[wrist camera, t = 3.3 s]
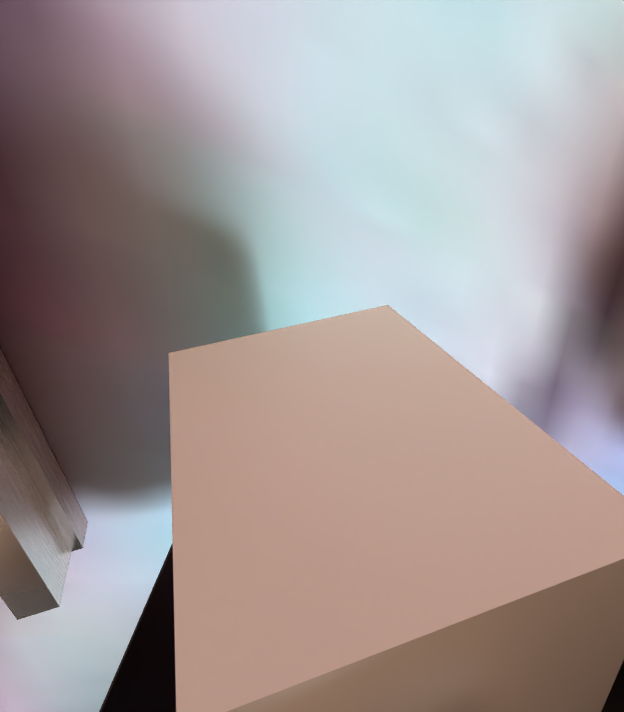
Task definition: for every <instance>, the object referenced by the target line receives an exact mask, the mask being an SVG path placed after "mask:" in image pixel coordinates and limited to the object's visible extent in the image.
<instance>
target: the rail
mask: <svg viewBox="0 0 624 712" xmlns="http://www.w3.org/2000/svg"><path fill="white" fill-rule="evenodd" d="M87 523H88V522H87V520H86V518H85V516H84V514H83V512H82V510H81V508H80V506H79V504H78V502H77V500H76V498H75V496H74V494H73V492H72V490H71V488H70V486H69V484H68V482H67V480H66V478H65V476H64V474H63V472H62V470H61V468H60V466H59V464H58V462H57V460H56V458H55V456H54V454H53V452H52V450H51V448H50V446H49V444H48V442H47V440H46V438H45V436H44V434H43V432H42V430H41V428H40V426H39V424H38V422H37V420H36V418H35V416H34V414H33V412H32V410H31V408H30V406H29V404H28V402H27V400H26V398H25V396H24V394H23V392H22V390H21V388H20V386H19V384H18V382H17V380H16V378H15V376H14V374H13V372H12V370H11V369H10V367H9V365H8V363H7V361H6V359H5V357H4V355H3V353H2V351H1V349H0V596H1V598H2V599H3V600H4V602H5V603H6V605H7V606H8V607H9V609H10V610H11V611H12V613H13V614H14V616H15V617H16V618H17V620H18V619H21V618H25V617H28V616H31V615H34V614H37V613H41V612H44V611H47V610H50V609H53V608H56V607H60V602H61V597H62V593H63V588H64V583H65V579H66V574H67V570H68V565H69V560H70V556H71V551H74V550H78V549H81V548H83V544H84V539H85V534H86V529H87Z"/></svg>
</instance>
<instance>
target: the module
mask: <svg viewBox="0 0 624 712" xmlns="http://www.w3.org/2000/svg"><path fill="white" fill-rule="evenodd" d="M169 391H170V439H171V486H172V534H173V582H174V629H175V677H176V712H601V711H602V709H603V706H604V704H605V702H606V699H607V697H608V695H609V692H610V690H611V688H612V685H613V683H614V681H615V679H616V676H617V674H618V672H619V669H620V667H621V665H622V662H623V660H624V496H623V495H622V494H621V493H620V492H618V491H617V490H616V489H615V488H613V487H612V486H611V485H610V484H608V483H607V482H606V481H605V480H603V479H602V478H601V477H600V476H599V475H597V474H596V473H595V472H594V471H592V470H591V469H590V468H589V467H587V466H586V465H585V464H584V463H582V462H581V461H580V460H579V459H578V458H576V457H575V456H574V455H573V454H571V453H570V452H569V451H568V450H566V449H565V448H564V447H563V446H561V445H560V444H559V443H558V442H557V441H555V440H554V439H553V438H552V437H550V436H549V435H548V434H547V433H545V432H544V431H543V430H542V429H540V428H539V427H538V426H537V425H535V424H534V423H533V422H532V421H531V420H529V419H528V418H527V417H526V416H524V415H523V414H522V413H521V412H519V411H518V410H517V409H516V408H514V407H513V406H512V405H511V404H510V403H508V402H507V401H506V400H505V399H503V398H502V397H501V396H500V395H498V394H497V393H496V392H495V391H493V390H492V389H491V388H490V387H489V386H487V385H486V384H485V383H484V382H482V381H481V380H480V379H479V378H477V377H476V376H475V375H474V374H472V373H471V372H470V371H469V370H468V369H466V368H465V367H464V366H463V365H461V364H460V363H459V362H458V361H456V360H455V359H454V358H453V357H451V356H450V355H449V354H448V353H447V352H445V351H444V350H443V349H442V348H440V347H439V346H438V345H437V344H435V343H434V342H433V341H432V340H430V339H429V338H428V337H427V336H426V335H424V334H423V333H422V332H421V331H419V330H418V329H417V328H416V327H414V326H413V325H412V324H411V323H409V322H408V321H407V320H406V319H405V318H403V317H402V316H401V315H400V314H398V313H397V312H396V311H395V310H393V309H392V308H391V307H390V306H388V305H386V306H381V307H376V308H372V309H367V310H363V311H358V312H354V313H349V314H344V315H340V316H335V317H331V318H326V319H322V320H317V321H312V322H308V323H303V324H299V325H294V326H289V327H285V328H280V329H276V330H271V331H267V332H262V333H257V334H253V335H248V336H244V337H239V338H235V339H230V340H225V341H221V342H216V343H212V344H207V345H203V346H198V347H193V348H189V349H184V350H180V351H175V352H170V353H169Z"/></svg>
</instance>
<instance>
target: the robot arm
mask: <svg viewBox="0 0 624 712" xmlns="http://www.w3.org/2000/svg"><path fill="white" fill-rule="evenodd" d="M99 712H176V677H175V629H174V582H173V543H172V545H171V548H170V550H169V552H168V554H167V557H166V559H165V561H164V564H163V566H162V568H161V571H160V573H159V575H158V577H157V580H156V582H155V584H154V587H153V589H152V591H151V594H150V596H149V598H148V600H147V603H146V605H145V607H144V610H143V612H142V614H141V617H140V619H139V621H138V624H137V626H136V628H135V630H134V633H133V635H132V637H131V640H130V642H129V644H128V647H127V649H126V651H125V653H124V656H123V658H122V660H121V663H120V665H119V667H118V670H117V672H116V674H115V677H114V679H113V681H112V683H111V686H110V688H109V690H108V693H107V695H106V697H105V700H104V702H103V704H102V706H101V709H100V711H99ZM601 712H624V660H623V662H622V665H621V667H620V669H619V672H618V674H617V676H616V679H615V681H614V683H613V685H612V688H611V690H610V692H609V695H608V697H607V699H606V702H605V704H604V706H603V709H602V711H601Z"/></svg>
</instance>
